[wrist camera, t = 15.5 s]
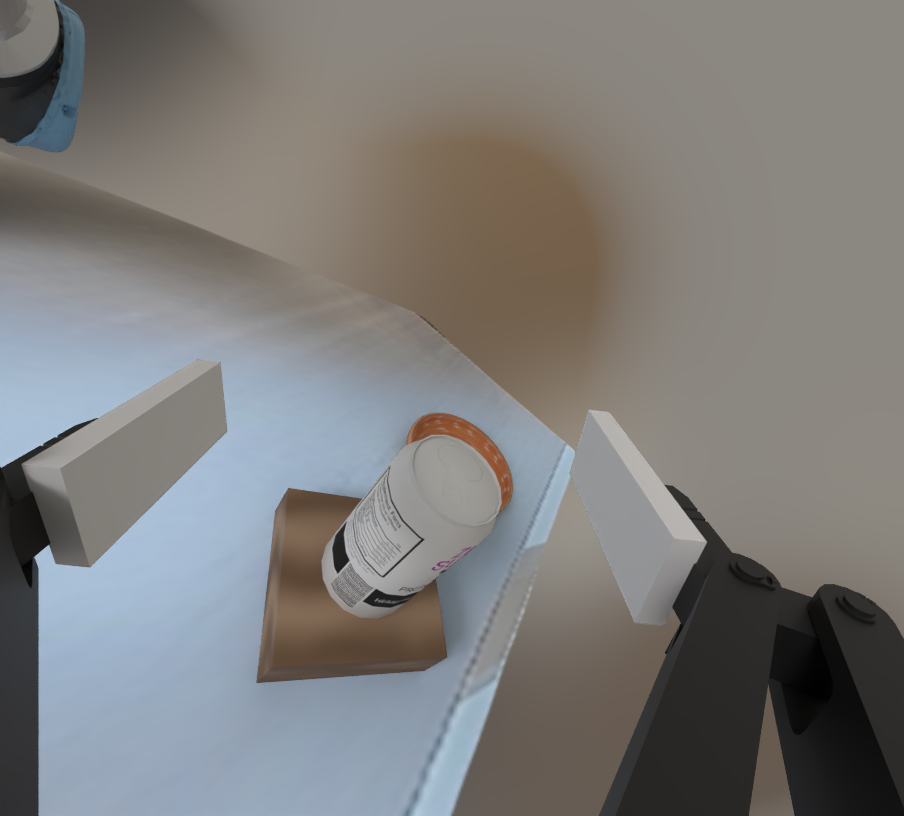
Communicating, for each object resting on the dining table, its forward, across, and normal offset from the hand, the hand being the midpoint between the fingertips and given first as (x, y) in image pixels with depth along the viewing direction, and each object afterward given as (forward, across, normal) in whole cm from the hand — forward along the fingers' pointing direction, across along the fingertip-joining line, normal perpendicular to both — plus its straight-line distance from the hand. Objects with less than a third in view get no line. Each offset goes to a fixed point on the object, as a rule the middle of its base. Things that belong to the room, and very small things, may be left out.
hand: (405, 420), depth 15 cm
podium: (+14, -4, -25) cm, 29 cm away
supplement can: (+13, -3, -22) cm, 26 cm away
